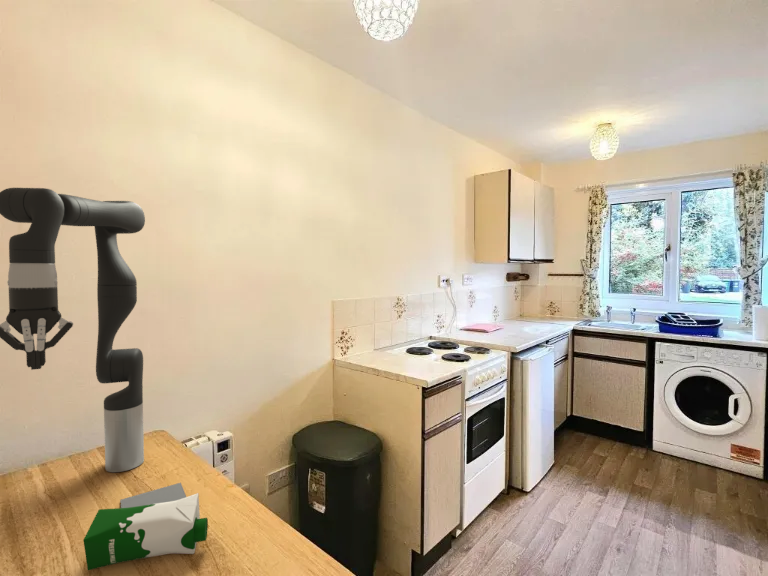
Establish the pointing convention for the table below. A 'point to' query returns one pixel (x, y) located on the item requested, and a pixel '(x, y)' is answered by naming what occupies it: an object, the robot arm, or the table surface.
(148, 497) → the mat
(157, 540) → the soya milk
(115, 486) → the table surface
